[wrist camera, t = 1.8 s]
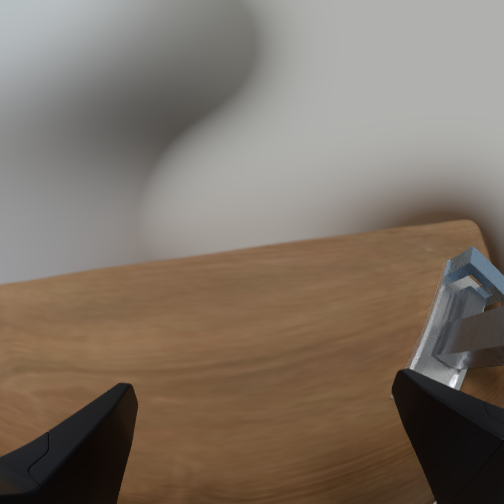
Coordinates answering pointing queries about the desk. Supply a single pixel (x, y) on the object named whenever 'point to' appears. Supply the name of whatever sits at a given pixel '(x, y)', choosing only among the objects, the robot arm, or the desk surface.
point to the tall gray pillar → (472, 334)
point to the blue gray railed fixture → (442, 308)
